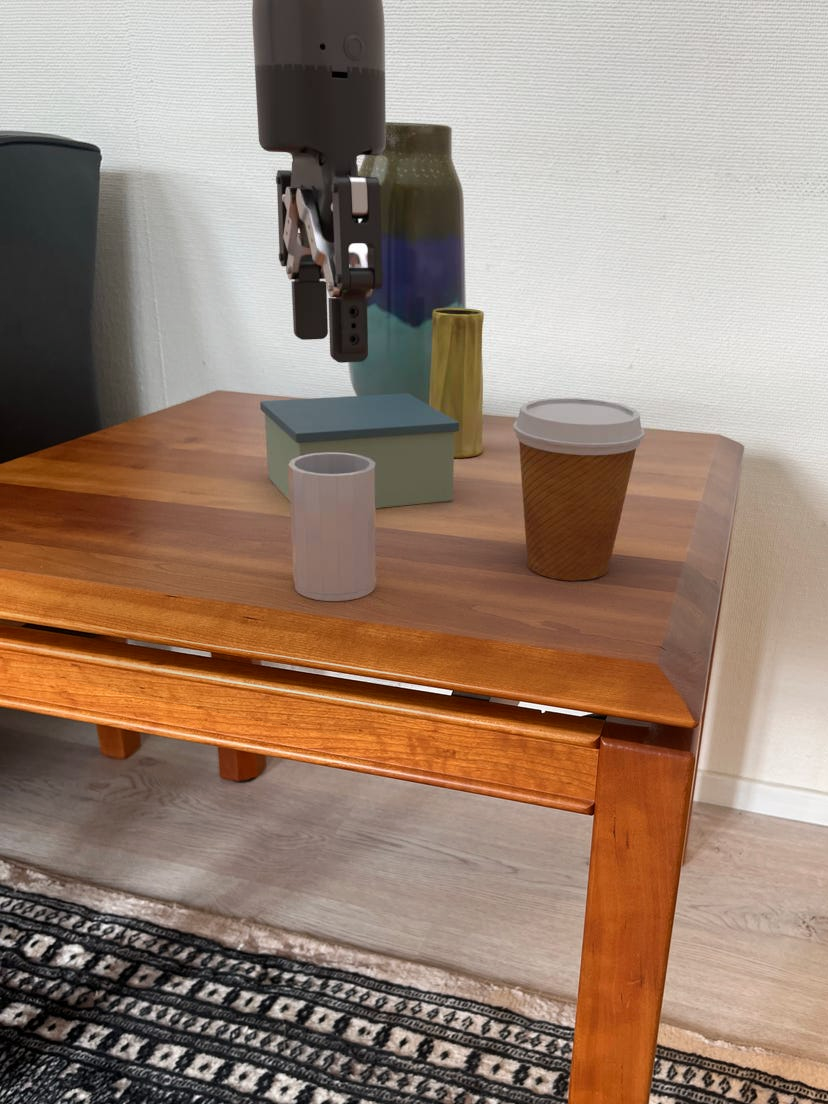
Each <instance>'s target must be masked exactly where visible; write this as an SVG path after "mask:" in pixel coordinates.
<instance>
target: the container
mask: <svg viewBox="0 0 828 1104" xmlns="http://www.w3.org/2000/svg"><path fill="white" fill-rule="evenodd" d="M259 402H260V403H259V405H260V411H261V412H262V413H264V426H265V444H266V462H267V463H266V465H267V478H268V479H269V480H270V482H272V484H273V485H274V486H275V487H276V488H277V489H278V491H279V492H281V494H282V495H283V496H284V497H285V498H286V499H287V500H288V501H289V502H290V489H289V466H288V465H289V463H290V461H291V460H292V459H294V458H297V457H299V456H303V455H308V454H313V453H325V452H337V453H350V454H357V455H361V456H364V457H368V458H370V459H372V460H373V461H374V462H375V465H376V509H382V508H392V507H402V506H403V507H404V506H410V505H412V506H413V505H422V504H431V503H432V504H433V503H442V502H452V501H453V498H454V465H455V464H454V463H455V462H454V461H455V458H454V432H455V431H459V422H457V421H455V420H454V419H452V418H450V417H449V416H447V415H445V414H443V413H442V412H440V411H438V410H436V409H435V408H433V407H431V406H429V405H428V404H426V403H424V402H422V401H421V400H419V399H417V398H415V397H414V396H412V395H410V394H408V393H404V394H386V395H368V396H356V395H351V396H334V397H331V396H330V397H313V398H295V399H280V400H278V399H277V400H261V401H259Z"/></svg>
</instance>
